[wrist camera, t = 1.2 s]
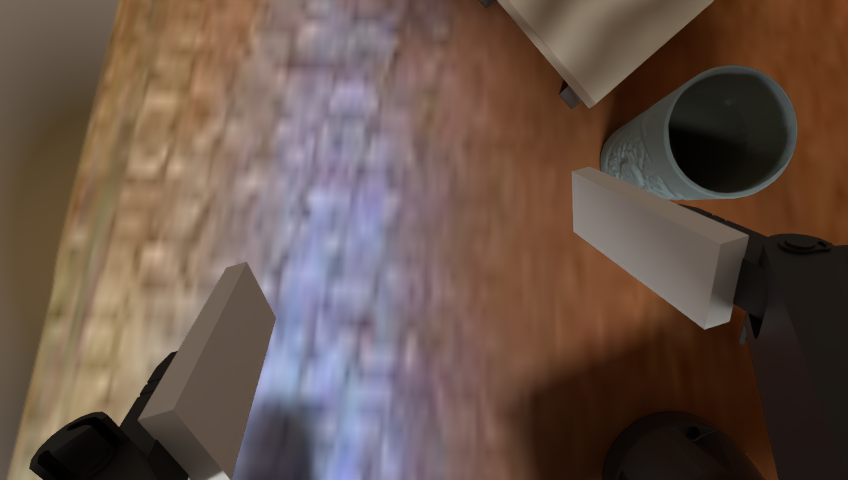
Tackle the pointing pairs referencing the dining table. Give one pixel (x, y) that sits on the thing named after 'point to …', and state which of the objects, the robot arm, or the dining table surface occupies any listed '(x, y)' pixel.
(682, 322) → the dining table surface
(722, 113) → the grey green cup
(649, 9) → the stand
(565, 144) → the dining table surface
